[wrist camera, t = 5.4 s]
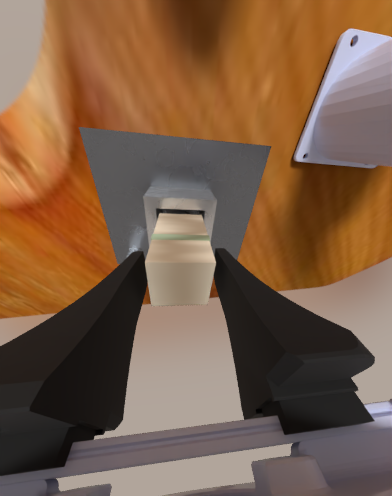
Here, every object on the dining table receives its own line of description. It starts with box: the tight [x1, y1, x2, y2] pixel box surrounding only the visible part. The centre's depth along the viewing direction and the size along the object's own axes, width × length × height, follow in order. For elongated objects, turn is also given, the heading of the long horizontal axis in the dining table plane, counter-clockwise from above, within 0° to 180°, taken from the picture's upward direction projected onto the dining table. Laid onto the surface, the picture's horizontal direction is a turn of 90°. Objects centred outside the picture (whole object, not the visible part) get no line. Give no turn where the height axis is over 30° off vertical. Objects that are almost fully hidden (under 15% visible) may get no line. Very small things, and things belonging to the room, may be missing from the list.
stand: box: [79, 127, 271, 264], centre depth 14 cm, size 16×14×9 cm
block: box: [145, 213, 216, 306], centre depth 11 cm, size 4×4×6 cm
